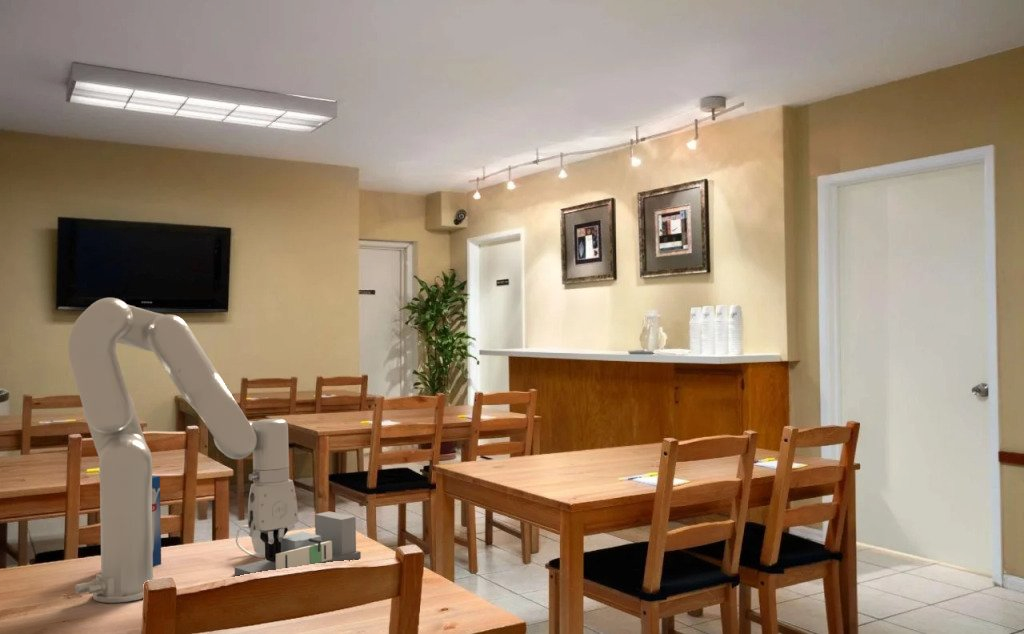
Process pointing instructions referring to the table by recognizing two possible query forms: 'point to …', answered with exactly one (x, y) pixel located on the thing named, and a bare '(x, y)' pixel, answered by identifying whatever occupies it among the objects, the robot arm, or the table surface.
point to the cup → (257, 545)
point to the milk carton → (156, 520)
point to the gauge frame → (316, 546)
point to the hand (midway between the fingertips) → (273, 560)
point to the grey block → (300, 541)
